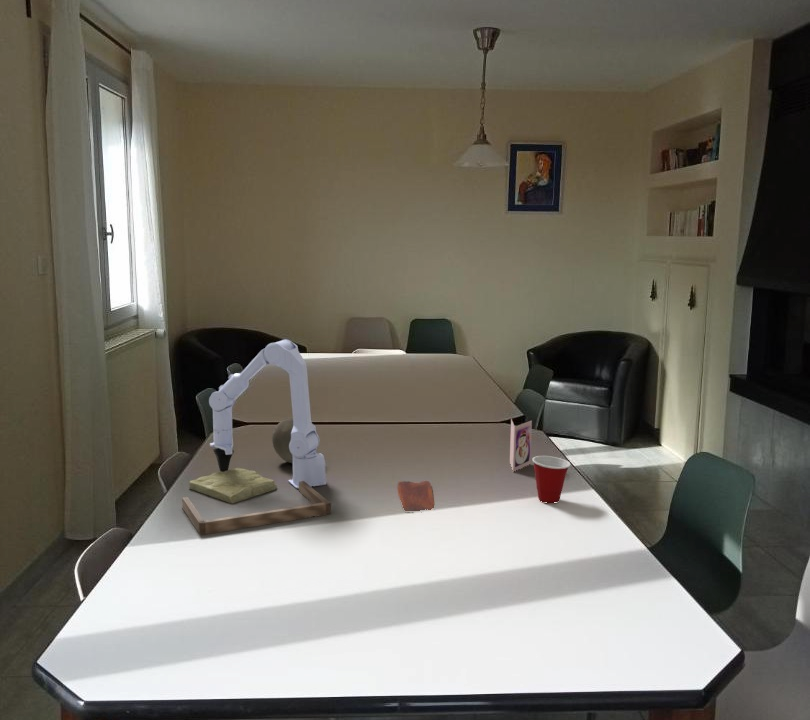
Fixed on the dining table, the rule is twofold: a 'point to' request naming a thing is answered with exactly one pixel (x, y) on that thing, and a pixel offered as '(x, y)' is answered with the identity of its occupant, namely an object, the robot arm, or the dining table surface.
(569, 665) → the dining table surface
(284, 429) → the cantaloupe
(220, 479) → the decorative tile
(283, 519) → the frame
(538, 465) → the plastic cup
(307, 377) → the robot arm
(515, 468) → the greeting card
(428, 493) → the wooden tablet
